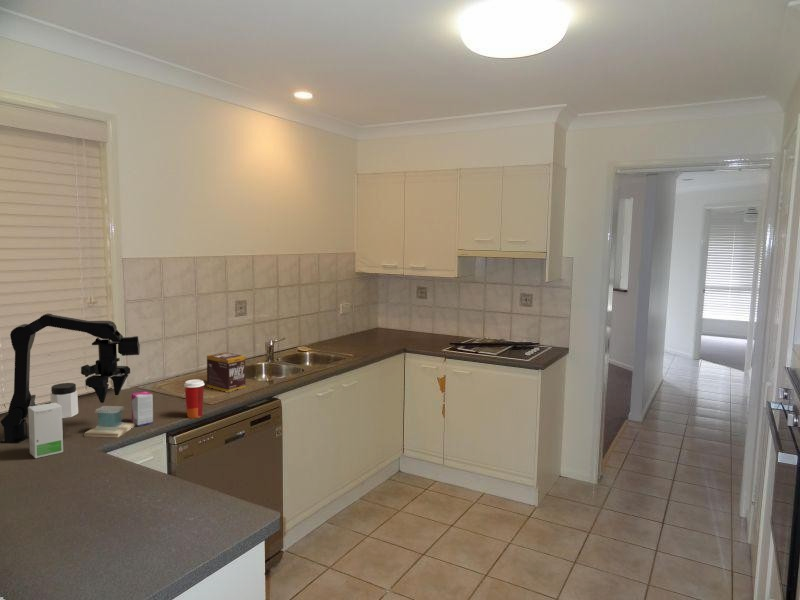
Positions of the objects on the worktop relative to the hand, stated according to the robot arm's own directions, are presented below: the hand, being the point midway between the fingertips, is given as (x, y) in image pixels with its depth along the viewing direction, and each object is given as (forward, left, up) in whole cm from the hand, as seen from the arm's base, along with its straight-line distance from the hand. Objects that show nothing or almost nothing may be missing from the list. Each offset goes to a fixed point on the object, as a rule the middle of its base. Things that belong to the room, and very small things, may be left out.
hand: (109, 398), depth 195 cm
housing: (0, 0, -11) cm, 11 cm away
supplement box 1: (+9, -7, -12) cm, 17 cm away
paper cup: (+19, -23, -12) cm, 32 cm away
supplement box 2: (+60, -21, -12) cm, 65 cm away
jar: (+15, +27, -12) cm, 33 cm away
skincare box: (-21, +9, -12) cm, 26 cm away
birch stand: (0, 0, -12) cm, 12 cm away
